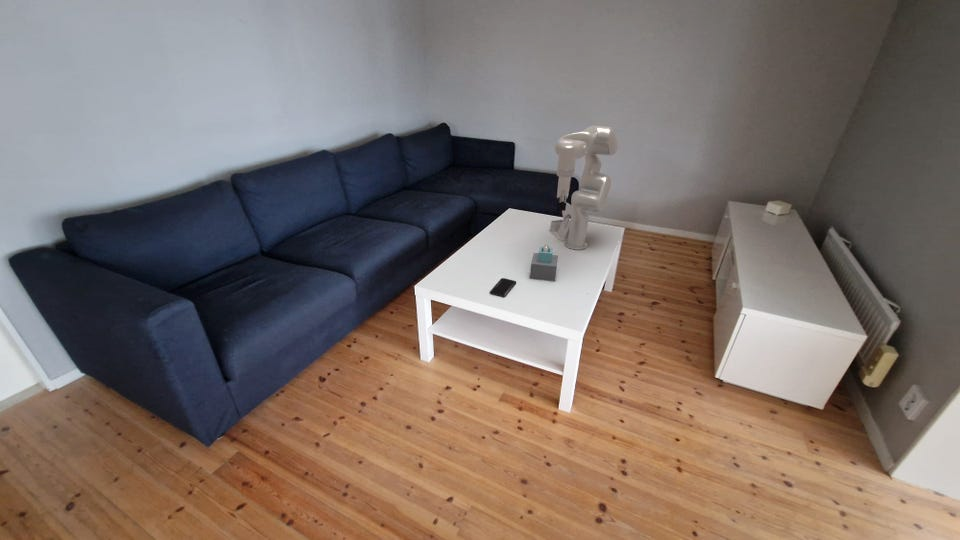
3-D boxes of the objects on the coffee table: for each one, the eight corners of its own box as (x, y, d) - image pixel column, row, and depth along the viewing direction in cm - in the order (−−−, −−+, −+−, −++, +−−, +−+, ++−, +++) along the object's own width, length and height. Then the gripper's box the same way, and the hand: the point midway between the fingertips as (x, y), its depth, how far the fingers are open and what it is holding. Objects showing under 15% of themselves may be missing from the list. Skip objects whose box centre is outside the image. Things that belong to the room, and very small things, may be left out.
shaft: (541, 270, 194) (543, 245, 187) (546, 271, 194) (548, 245, 187) (541, 273, 192) (543, 247, 185) (545, 273, 192) (548, 247, 185)
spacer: (538, 255, 193) (539, 246, 190) (552, 257, 192) (552, 247, 189) (537, 261, 187) (538, 252, 185) (551, 263, 186) (552, 253, 184)
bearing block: (532, 266, 200) (533, 252, 196) (556, 269, 197) (558, 255, 193) (529, 278, 189) (531, 263, 186) (555, 281, 187) (556, 266, 183)
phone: (517, 281, 185) (504, 296, 173) (516, 283, 186) (504, 298, 174) (501, 277, 188) (488, 292, 176) (501, 279, 189) (488, 294, 177)
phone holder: (548, 230, 242) (551, 202, 234) (563, 228, 245) (566, 201, 236) (560, 241, 228) (564, 212, 219) (576, 239, 230) (580, 210, 221)
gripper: (558, 167, 184) (555, 203, 194) (556, 176, 172) (552, 215, 181) (574, 167, 183) (570, 205, 192) (573, 177, 170) (569, 216, 180)
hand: (562, 210), depth 187 cm, fingers closed
